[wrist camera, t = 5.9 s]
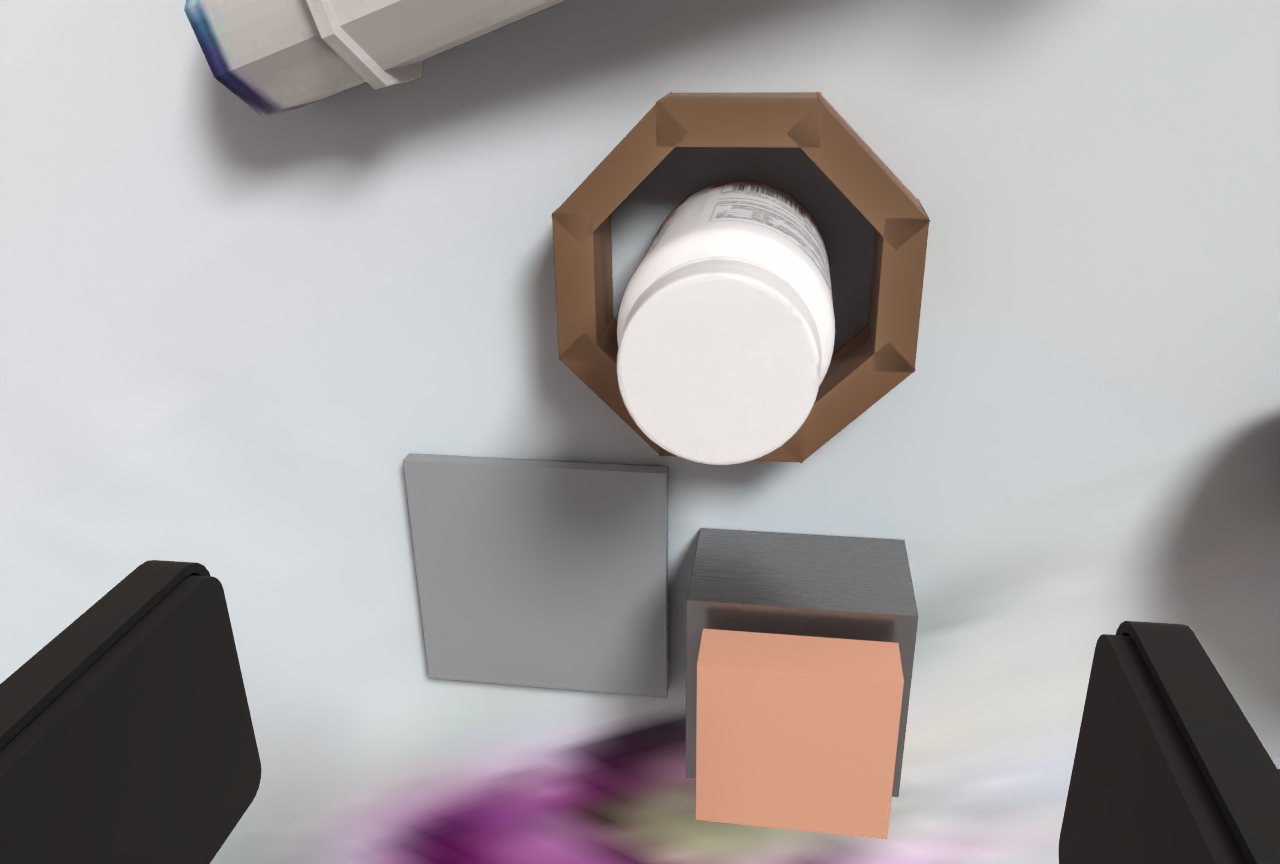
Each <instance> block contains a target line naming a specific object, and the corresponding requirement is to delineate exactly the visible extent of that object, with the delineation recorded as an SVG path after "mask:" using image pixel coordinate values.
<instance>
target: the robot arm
mask: <svg viewBox="0 0 1280 864" xmlns="http://www.w3.org/2000/svg"><path fill="white" fill-rule="evenodd" d="M260 779H261V763H260V758H259V753H258V749H257V744H256V739H255V735H254V730H253V725H252V721H251V716H250V711H249V707H248V702H247V697H246V693H245V688H244V683H243V679H242V674H241V669H240V665H239V660H238V655H237V651H236V646H235V641H234V637H233V632H232V627H231V623H230V618H229V613H228V609H227V604H226V599H225V595H224V590H223V587H222V584H221V583H220V581H219V580H218V579H217V578H215V577H210V574H209V572H208V570H207V569H206V568H205V566H203V565H201V564H199V563H190V562H174V561H158V560H152V561H146V562H145V563H143V564H141V565H140V566H139V567H137V568H136V569H135V570H134V571H133V572H132V573H130V574H129V575H128V576H127V577H126V578H125V579H123V580H122V581H121V582H120V583H119V584H117V585H116V586H115V587H114V588H113V589H112V590H110V591H109V592H108V593H107V594H106V595H105V596H103V597H102V598H101V599H100V600H99V601H98V602H96V603H95V604H94V605H93V606H92V607H91V608H89V609H88V610H87V611H86V612H85V613H83V614H82V615H81V616H80V617H79V618H78V619H76V620H75V621H74V622H73V623H72V624H71V625H69V626H68V627H67V628H66V629H65V630H64V631H62V632H61V633H60V634H59V635H58V636H56V637H55V638H54V639H53V640H52V641H51V642H49V643H48V644H47V645H46V646H45V647H44V648H42V649H41V650H40V651H39V652H38V653H37V654H35V655H34V656H33V657H32V658H31V659H30V660H28V661H27V662H26V663H25V664H24V665H22V666H21V667H20V668H19V669H18V670H17V671H15V672H14V673H13V674H12V675H11V676H10V677H8V678H7V679H6V680H5V681H4V682H3V683H1V684H0V864H210V862H211V861H212V859H213V858H214V856H215V855H216V853H217V852H218V851H219V849H220V848H221V846H222V845H223V843H224V842H225V840H226V839H227V837H228V836H229V835H230V833H231V832H232V830H233V829H234V827H235V826H236V824H237V823H238V821H239V820H240V819H241V817H242V816H243V814H244V813H245V811H246V810H247V808H248V807H249V805H250V804H251V803H252V801H253V799H254V797H255V796H256V793H257V791H258V788H259V784H260ZM1059 864H1280V769H1277V768H1276V766H1275V765H1274V763H1273V761H1272V760H1271V758H1270V756H1269V755H1268V753H1267V752H1266V750H1265V748H1264V747H1263V745H1262V743H1261V742H1260V740H1259V739H1258V737H1257V735H1256V734H1255V732H1254V730H1253V729H1252V727H1251V726H1250V724H1249V722H1248V721H1247V719H1246V717H1245V716H1244V714H1243V712H1242V711H1241V709H1240V708H1239V706H1238V704H1237V703H1236V701H1235V699H1234V698H1233V696H1232V695H1231V693H1230V691H1229V690H1228V688H1227V686H1226V685H1225V683H1224V682H1223V680H1222V678H1221V677H1220V675H1219V673H1218V672H1217V670H1216V669H1215V667H1214V665H1213V664H1212V662H1211V660H1210V659H1209V657H1208V656H1207V654H1206V652H1205V651H1204V649H1203V647H1202V646H1201V644H1200V642H1199V641H1198V639H1197V638H1196V636H1195V634H1194V633H1193V631H1192V630H1191V629H1190V628H1189V627H1188V626H1186V625H1181V624H1165V623H1149V622H1133V621H1124V622H1123V623H1121V624H1120V626H1119V628H1118V629H1117V632H1116V635H1106V634H1103V635H1101V636H1100V637H1099V639H1098V641H1097V644H1096V648H1095V653H1094V658H1093V663H1092V669H1091V674H1090V679H1089V685H1088V690H1087V695H1086V701H1085V706H1084V711H1083V717H1082V722H1081V727H1080V733H1079V738H1078V743H1077V749H1076V754H1075V759H1074V765H1073V770H1072V775H1071V781H1070V786H1069V791H1068V797H1067V802H1066V807H1065V813H1064V818H1063V823H1062V829H1061V834H1060V840H1059Z"/></svg>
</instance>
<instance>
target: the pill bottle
mask: <svg viewBox="0 0 1280 864" xmlns="http://www.w3.org/2000/svg"><path fill="white" fill-rule="evenodd" d="M834 339H835V318H834V310H833V301H832V290H831V280H830V271H829V262H828V256H827V251H826V247H825V243H824V240H823V237H822V235H821V233H820V231H819V229H818V227H817V225H816V223H815V222H814V220H813V219H812V217H811V216H810V215H809V213H808V212H807V211H806V210H805V209H804V208H803V207H802V206H801V205H800V204H799V203H798V202H797V201H795V200H794V199H793V198H792V197H790V196H789V195H787V194H785V193H784V192H782V191H780V190H778V189H776V188H773V187H771V186H768V185H765V184H761V183H757V182H750V181H732V182H725V183H720V184H716V185H713V186H710V187H707V188H705V189H702V190H700V191H698V192H696V193H694V194H693V195H691V196H690V197H688V198H687V199H685V200H684V201H683V202H682V203H681V204H679V205H678V206H677V207H676V208H675V209H674V210H673V211H672V212H671V214H670V215H669V216H668V217H667V218H666V220H665V221H664V223H663V224H662V226H661V228H660V229H659V231H658V233H657V235H656V237H655V239H654V241H653V243H652V244H651V246H650V248H649V250H648V252H647V253H646V255H645V257H644V258H643V260H642V262H641V263H640V265H639V266H638V268H637V269H636V271H635V273H634V274H633V276H632V278H631V280H630V281H629V283H628V285H627V288H626V290H625V293H624V296H623V299H622V302H621V305H620V309H619V314H618V322H617V340H618V348H619V349H618V354H617V377H618V384H619V389H620V393H621V396H622V399H623V401H624V404H625V406H626V408H627V410H628V412H629V414H630V415H631V417H632V418H633V420H634V421H635V423H636V424H637V426H638V427H639V428H640V429H641V431H642V432H643V433H644V434H645V435H646V436H647V437H648V438H649V439H650V440H652V441H653V442H654V443H656V444H657V445H659V446H660V447H662V448H663V449H665V450H666V451H668V452H670V453H672V454H674V455H676V456H679V457H681V458H684V459H687V460H690V461H694V462H698V463H703V464H711V465H730V464H739V463H744V462H748V461H751V460H754V459H758V458H760V457H762V456H764V455H766V454H769V453H770V452H772V451H774V450H775V449H777V448H779V447H781V446H782V445H783V444H784V443H785V442H786V441H788V440H789V439H790V438H791V437H792V436H793V435H794V434H795V433H796V432H797V431H798V429H799V428H800V427H801V426H802V424H803V423H804V421H805V420H806V418H807V417H808V415H809V413H810V411H811V409H812V407H813V405H814V402H815V400H816V396H817V393H818V389H819V386H820V384H821V383H822V381H823V379H824V377H825V375H826V373H827V370H828V367H829V365H830V362H831V358H832V353H833V348H834Z"/></svg>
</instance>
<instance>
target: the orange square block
mask: <svg viewBox="0 0 1280 864" xmlns="http://www.w3.org/2000/svg"><path fill="white" fill-rule="evenodd" d="M903 685H904V679H903V672H902V665H901V658H900V651H899V644H898V643H894V642H880V641H866V640H853V639H839V638H825V637H812V636H798V635H784V634H771V633H757V632H743V631H729V630H716V629H703V632H702V638H701V644H700V650H699V656H698V662H697V733H696V820H702V821H712V822H722V823H732V824H742V825H751V826H761V827H771V828H781V829H791V830H801V831H811V832H821V833H831V834H841V835H851V836H861V837H871V838H881V839H887V835H888V826H889V817H890V807H891V798H892V789H893V779H894V770H895V760H896V751H897V742H898V732H899V723H900V714H901V704H902V695H903Z"/></svg>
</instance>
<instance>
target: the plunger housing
mask: <svg viewBox="0 0 1280 864" xmlns="http://www.w3.org/2000/svg"><path fill="white" fill-rule="evenodd" d="M917 623H918V612H917V607H916V601H915V596H914V590H913V585H912V579H911V574H910V568H909V563H908V557H907V551H906V546H905V540H893V539H876V538H859V537H842V536H825V535H808V534H791V533H774V532H757V531H740V530H723V529H706V528H701V529H700V534H699V539H698V544H697V549H696V554H695V559H694V564H693V569H692V574H691V579H690V584H689V589H688V594H687V599H686V777H691V778H696V733H697V662H698V656H699V650H700V644H701V638H702V632H703V629H716V630H729V631H743V632H757V633H771V634H784V635H798V636H812V637H825V638H839V639H853V640H866V641H880V642H894V643H898V644H899V651H900V658H901V665H902V672H903V679H904V685H903V695H902V704H901V714H900V723H899V732H898V742H897V751H896V760H895V770H894V779H893V789H892V797H898V796H899V787H900V778H901V768H902V759H903V750H904V741H905V732H906V723H907V714H908V705H909V696H910V687H911V678H912V668H913V659H914V650H915V641H916V632H917Z"/></svg>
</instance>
